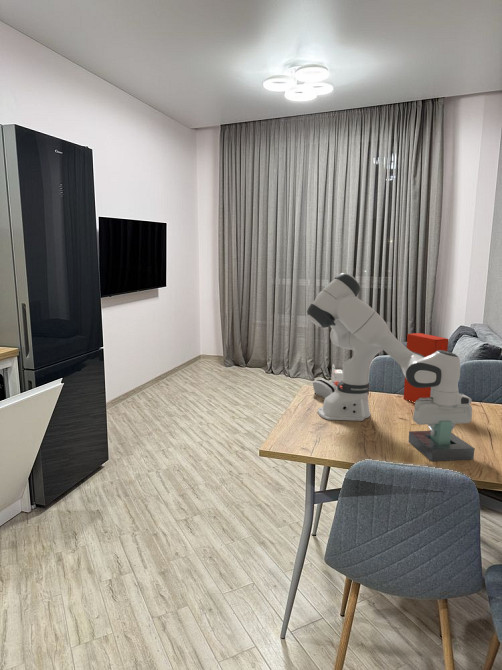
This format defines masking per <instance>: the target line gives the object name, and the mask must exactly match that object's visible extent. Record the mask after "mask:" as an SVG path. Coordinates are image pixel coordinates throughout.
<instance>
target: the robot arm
mask: <svg viewBox="0 0 502 670" xmlns="http://www.w3.org/2000/svg"><path fill="white" fill-rule="evenodd" d="M360 292H361V286H360V284H359V282H358V281H357V279H356V278H355V277H354V276H352V275H350V274H348V273H345V272H344V273H343V272H342V273H339V274H338V275H336V276H335V277H334V279H332V281H330V282H329V283H328V284H327V285H326V286H325V287H324V288H323V289H322V290H321V291H319V293H318V294H317V295H316V297H315V299H314V301H313V302H312V303H311V304H309V306H308V307H307V311H306V312H307V316H308V318H309V320H310V321H311V323H312V324H314V325H315V326H317V327H318V328H319V327H320V328H322V329H323V328H329V327H330V328H331V330H330V332H329V337H330V341H331V343H332V344H333V345H334V346H336V347H339V348H341V349H343V350H351V351H353V354H352V357H351V358H349V359H346V361H344V363H343V364H342V372H343V373H342V381H341V382H340V383H339V382H338V381H335V382H334V384H335V385H336V386H337V390H336V391H335V392H333V393H332V394H330V395H329V396H327V397H326V398H324V400H323V404H322V406H321V407H318V409H317V413H318V415H319V416H320V417H321V418H323V419H326V420H328V421H355V422H357V421H358V422H361V421H364V420H365V419H367V418H370V417H371V412H370V411H371V410H370V406H369V395H370V383H369V381H370V380H369V377H370V369H371V365H372V361H373V360H374V358H375V357H376V356H377V355H378V354H379V353H381V352H382V351H384V352H385V353H386V354H387V355H388V356H389V357H390V358H392V360H394V361H395V362H396V363H397V364H398V365H399V369H400V370H401V371H400V372H401V373H402V374H403V376H404V379H405V378H406V379H407V381H408V383H409V384H410V385H412V386H414V387H416V388H427V387H431V394H430V397H429V398H419V399H418V400H419V401H418V400H416V401H415V403H414V410H413V415H412V420H413V422H414V423H415V424H417V425H419V426H421V425H427V426H428V428H429V431H430V434H431V435H432V436H436V435H437V431H435V430H434V428H433V427H435V424H439V421H451V422H452V428H451V432H453V430H454V428H455V427H456V425H457V424H469V423H470V422H471V421H472V418H473V408H472V405H471V404H472V401H473V399H472V398H471V397H469V396H467V395H466V394H463V393H461V392H459V386H458V384H459V382H460V378H461V361H460V358H459V356H458V355H457V354H456V353H453V352H451V351H444V350H438V351H436V352H435V353H433V354H431V355H429V356H427V357H424V356H423V355H421V354H419V353H415V352H413V351H410V350H409V349H408V348H407V346H406V345H405V344H403V343H402V342H401V341H400V340H399V339H397V337H396V336H394V334H393V333H392V332H391V329H390V328H389V325H388V324H387V322H386V321H385V320H384V319H383V317H382V316H381V315H380V314H379V313H378V312H377V311H376V310H375V309H373V308H372V307H371V306H370V305H369V304H367V303H366V302H365V301H363V300H361V299H360V298H359V297H357V296H358V295H359V293H360Z"/></svg>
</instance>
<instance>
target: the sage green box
mask: <svg viewBox="0 0 502 670" xmlns="http://www.w3.org/2000/svg"><path fill="white" fill-rule="evenodd" d="M433 428H434V430H435V431H437V435H436V436H432V435H431V438H430V439H431V440H432V441H433V442H435V443H436V444H437V445H446V444H450V439H451V433H452V431H451V428H452V422H451V421H439V424H435V427H433Z"/></svg>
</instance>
